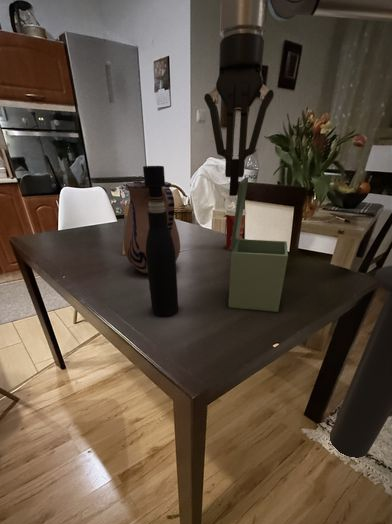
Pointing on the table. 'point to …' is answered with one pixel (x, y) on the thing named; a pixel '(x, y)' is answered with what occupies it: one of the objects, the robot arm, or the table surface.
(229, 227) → the paper cup
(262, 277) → the bin
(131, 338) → the table surface
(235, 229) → the bin lid
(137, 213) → the ceramic pitcher
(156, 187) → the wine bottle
